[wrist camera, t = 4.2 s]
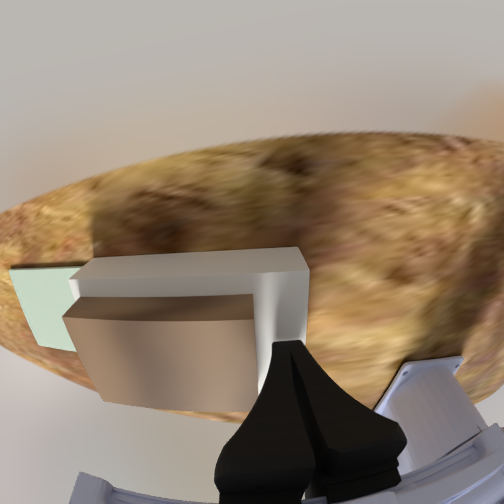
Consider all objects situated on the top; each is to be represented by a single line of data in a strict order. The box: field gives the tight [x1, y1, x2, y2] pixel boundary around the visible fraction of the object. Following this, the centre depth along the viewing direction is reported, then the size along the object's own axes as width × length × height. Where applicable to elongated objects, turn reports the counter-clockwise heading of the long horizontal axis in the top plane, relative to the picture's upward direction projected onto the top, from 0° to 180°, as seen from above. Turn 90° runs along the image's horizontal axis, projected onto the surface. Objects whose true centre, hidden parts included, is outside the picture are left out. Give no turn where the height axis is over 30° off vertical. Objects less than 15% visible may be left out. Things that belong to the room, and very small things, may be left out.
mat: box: [9, 266, 83, 352], centre depth 16 cm, size 9×7×1 cm
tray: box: [68, 247, 310, 395], centre depth 15 cm, size 12×8×3 cm, turn 93°
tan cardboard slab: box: [62, 294, 259, 412], centre depth 12 cm, size 9×6×2 cm, turn 93°
